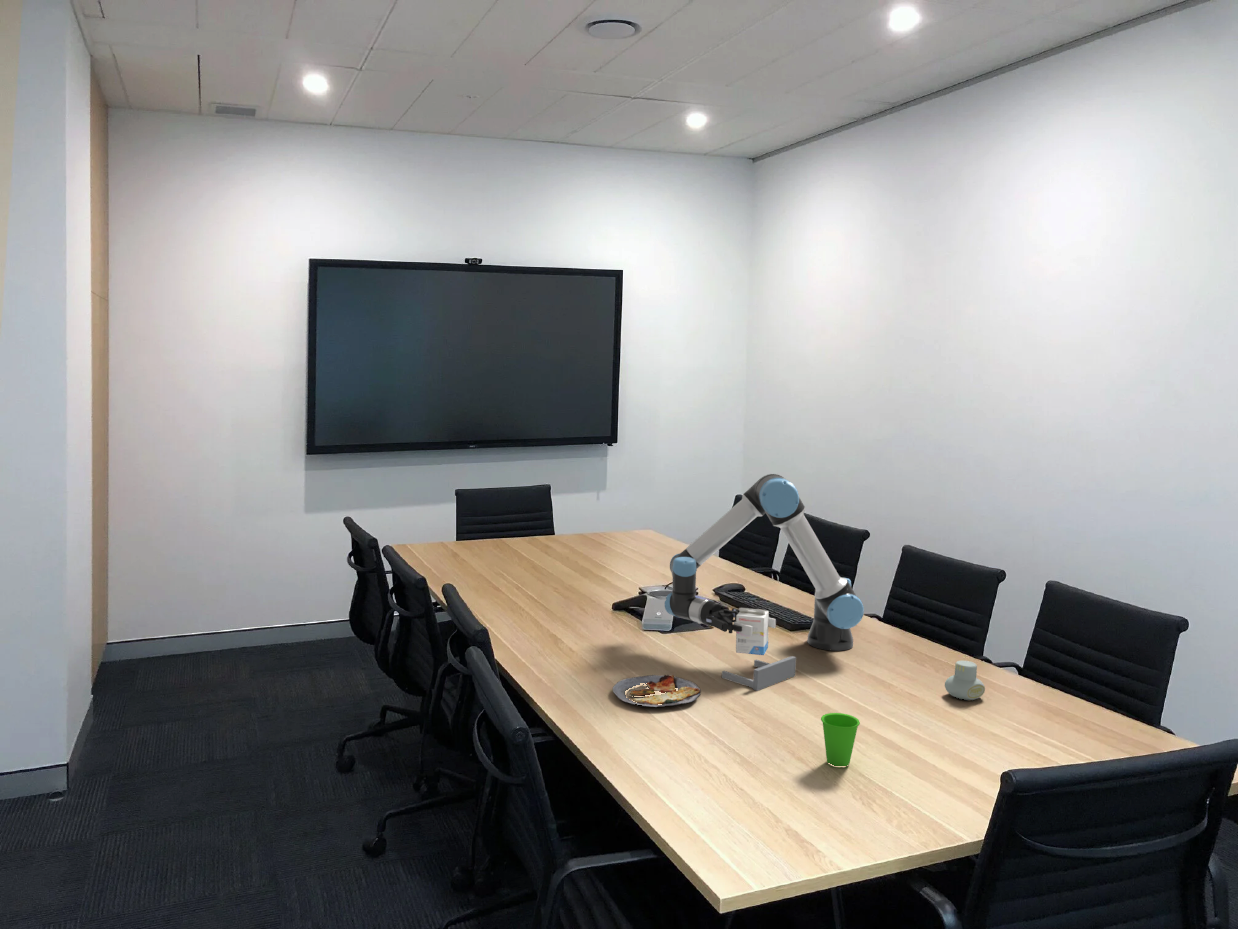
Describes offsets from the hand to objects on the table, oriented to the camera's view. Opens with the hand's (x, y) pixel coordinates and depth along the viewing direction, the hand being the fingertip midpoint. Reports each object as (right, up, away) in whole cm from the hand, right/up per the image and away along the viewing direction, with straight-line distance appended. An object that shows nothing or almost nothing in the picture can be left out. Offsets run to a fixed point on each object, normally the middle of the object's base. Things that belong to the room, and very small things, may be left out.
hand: (763, 627), depth 286 cm
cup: (+9, -23, -57) cm, 62 cm away
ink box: (-3, -8, +4) cm, 9 cm away
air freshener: (+57, -19, -9) cm, 60 cm away
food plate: (-32, -18, -14) cm, 40 cm away
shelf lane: (-1, -16, +3) cm, 16 cm away
